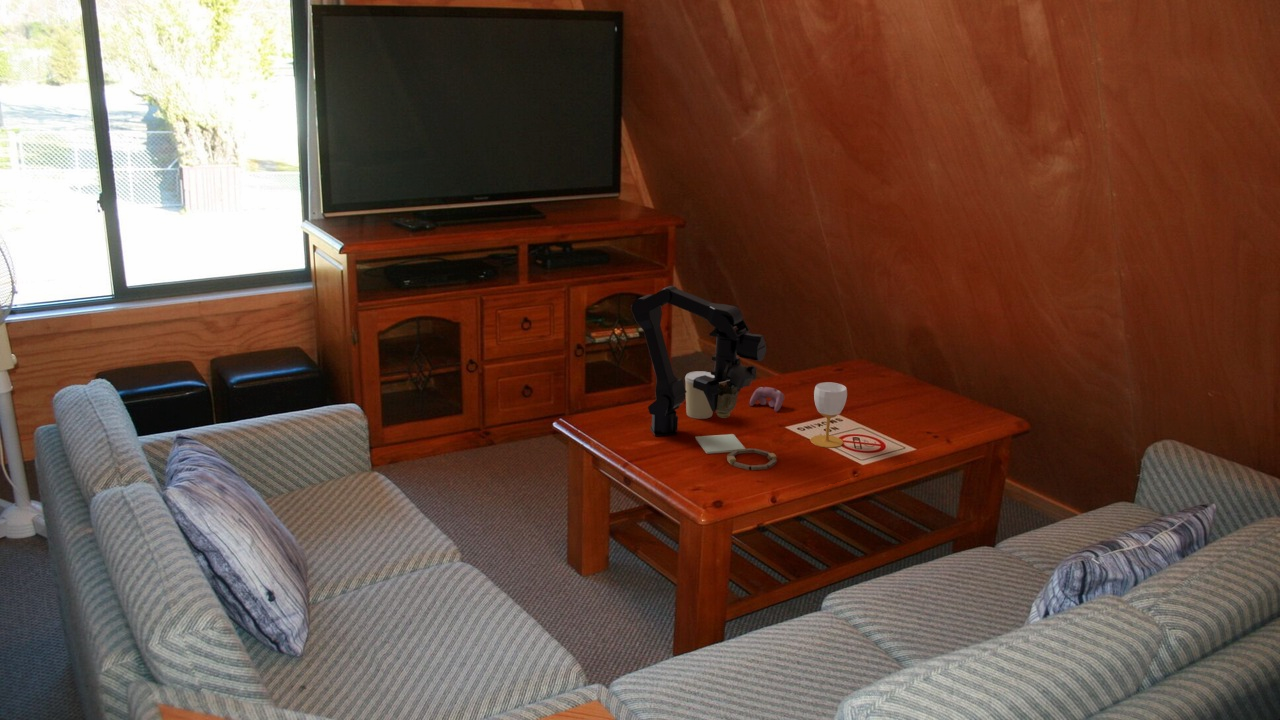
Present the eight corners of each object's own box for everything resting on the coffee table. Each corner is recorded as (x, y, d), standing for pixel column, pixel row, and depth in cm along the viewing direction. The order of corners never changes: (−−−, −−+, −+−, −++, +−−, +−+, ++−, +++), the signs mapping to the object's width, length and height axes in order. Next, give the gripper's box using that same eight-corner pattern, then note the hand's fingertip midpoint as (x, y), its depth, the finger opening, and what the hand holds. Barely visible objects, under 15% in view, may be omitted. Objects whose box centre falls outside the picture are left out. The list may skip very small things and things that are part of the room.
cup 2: (835, 434, 296) (840, 381, 291) (848, 446, 287) (853, 391, 282) (805, 436, 294) (809, 382, 289) (817, 448, 285) (821, 393, 280)
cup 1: (705, 417, 282) (706, 390, 279) (715, 409, 288) (717, 382, 286) (730, 423, 279) (732, 395, 276) (741, 414, 285) (742, 387, 282)
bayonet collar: (735, 471, 269) (736, 467, 269) (721, 453, 281) (721, 448, 281) (782, 467, 272) (783, 463, 272) (766, 449, 284) (766, 445, 283)
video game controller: (782, 414, 315) (787, 391, 316) (776, 411, 311) (782, 389, 312) (752, 407, 320) (758, 385, 321) (747, 405, 316) (752, 382, 317)
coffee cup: (708, 407, 315) (709, 369, 311) (720, 418, 306) (722, 379, 303) (679, 410, 312) (680, 372, 308) (690, 421, 303) (691, 382, 300)
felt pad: (706, 453, 280) (706, 451, 280) (695, 438, 291) (695, 436, 290) (745, 450, 283) (745, 448, 283) (733, 436, 293) (733, 434, 293)
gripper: (724, 368, 266) (720, 425, 271) (772, 355, 279) (767, 409, 283) (693, 357, 274) (690, 412, 279) (741, 344, 286) (737, 398, 291)
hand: (722, 408), depth 283 cm, fingers closed on cup 1, 6 cm apart
